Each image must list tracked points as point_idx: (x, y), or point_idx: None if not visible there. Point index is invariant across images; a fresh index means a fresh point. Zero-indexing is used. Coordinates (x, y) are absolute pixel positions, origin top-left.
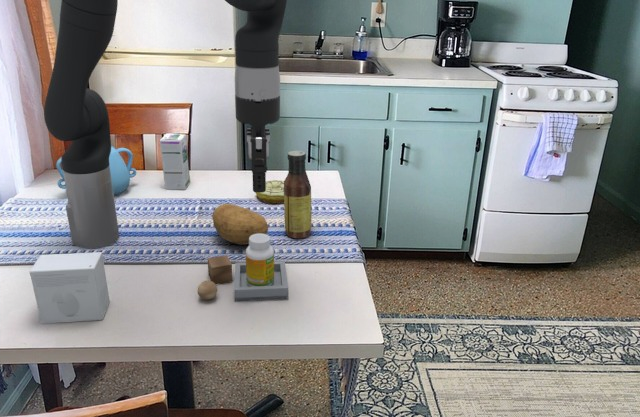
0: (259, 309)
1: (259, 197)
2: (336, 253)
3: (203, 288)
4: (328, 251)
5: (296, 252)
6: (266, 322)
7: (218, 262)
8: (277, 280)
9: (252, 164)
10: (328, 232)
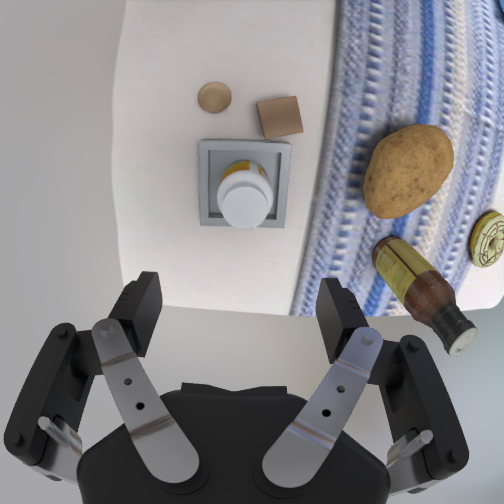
0: (179, 176)
1: (487, 214)
2: None
3: (201, 92)
4: None
5: (337, 243)
6: (149, 185)
7: (276, 115)
8: None
9: (43, 350)
10: (378, 291)
